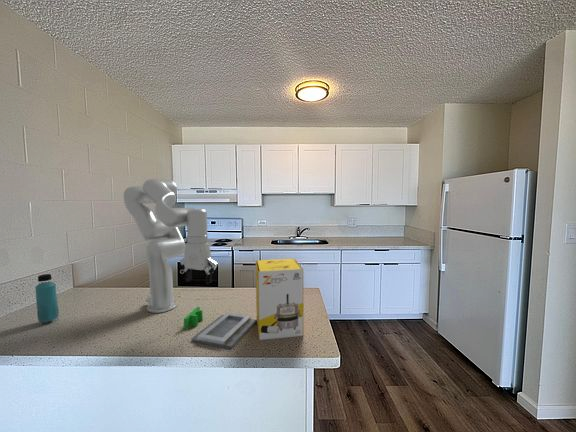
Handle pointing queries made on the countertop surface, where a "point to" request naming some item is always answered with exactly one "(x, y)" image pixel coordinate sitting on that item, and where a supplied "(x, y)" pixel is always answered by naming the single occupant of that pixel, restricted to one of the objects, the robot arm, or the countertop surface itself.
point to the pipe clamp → (193, 318)
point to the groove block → (225, 330)
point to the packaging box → (279, 298)
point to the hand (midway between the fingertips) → (198, 282)
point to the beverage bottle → (46, 299)
